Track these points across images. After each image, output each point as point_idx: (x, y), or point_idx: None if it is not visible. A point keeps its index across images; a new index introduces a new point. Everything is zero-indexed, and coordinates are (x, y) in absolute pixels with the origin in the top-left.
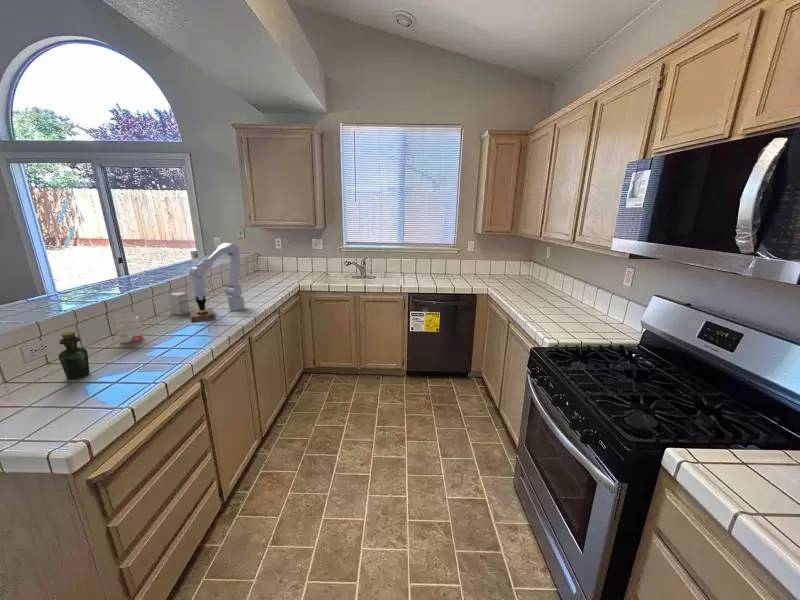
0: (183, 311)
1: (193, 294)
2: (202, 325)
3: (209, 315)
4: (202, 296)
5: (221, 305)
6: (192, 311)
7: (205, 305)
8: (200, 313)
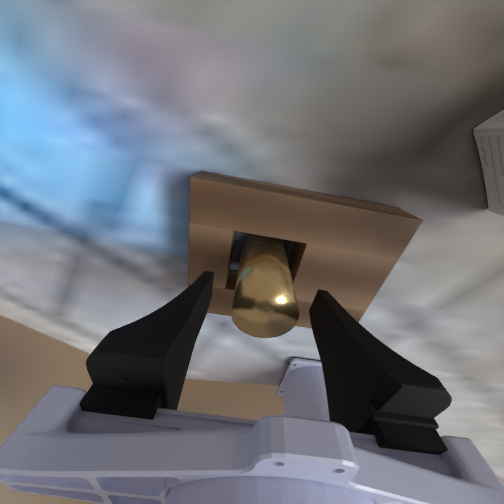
0: (496, 164)
1: (309, 470)
2: (92, 211)
3: (189, 285)
4: (21, 491)
5: (427, 359)
6: (361, 221)
7: (257, 331)
8: (245, 254)
